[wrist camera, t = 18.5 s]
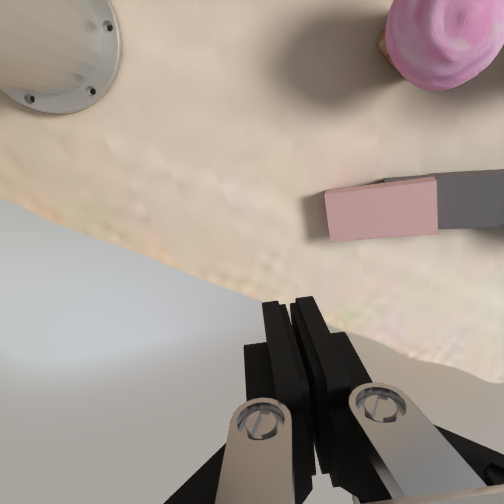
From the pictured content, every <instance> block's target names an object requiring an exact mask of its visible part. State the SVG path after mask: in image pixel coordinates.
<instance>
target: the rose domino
mask: <svg viewBox="0 0 504 504" xmlns="http://www.w3.org/2000/svg"><path fill="white" fill-rule="evenodd" d="M324 197H325V205H326V213H327V220H328V228H329V235H330V242H331V241H345V240H359V239H372V238H386V237H400V236H414V235H427V234H438V216H437V181H436V179H435V177H426V178H418V179H410V180H402V181H394V182H386V183H379V184H371V185H363V186H355V187H347V188H339V189H331V190H327V191H326V192H325V194H324Z"/></svg>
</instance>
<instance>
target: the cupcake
mask: <svg viewBox="0 0 504 504" xmlns="http://www.w3.org/2000/svg"><path fill="white" fill-rule="evenodd" d="M503 44H504V0H394V1H393V3H392V5H391V8H390V10H389V13H388V17H387V22H386V29H385V30H384V31H382V32H381V34H380V35H379V37H378V47H379V51H380V52H381V53H382V54H383V55H384V56H385V57H386V59H387V60H388V62H389V63H390V64H391V65H392V66H394V67H395V68H396V69H397V71H398V72H399V74H400V75H401V77H402V78H404V79H405V80H407V81H410V82H411V83H413V84H414V85H416V86H418V87H419V88H422V89H426V90H431V91H444V90H448V89H451V88H454V87H457V86H459V85H461V84H463V83H465V82H467V81H468V80H470V79H472V78H473V77H475V76H476V75H478V74H479V73H480V72H481V71H482V70H484V69H485V68H486V67H488V65H489V64H490V63H491V62H492V61H493V59H494V58H495V57H496V56H497V54H498V53H499V51H500V49H501V48H502V46H503Z"/></svg>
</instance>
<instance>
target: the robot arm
mask: <svg viewBox="0 0 504 504" xmlns="http://www.w3.org/2000/svg"><path fill="white" fill-rule="evenodd" d="M109 26H113V29H112V31H111V32H110V31H109V30H108V28H109ZM121 57H122V37H121V31H120V25H119V21H118V19H117V16H116V13H115V10H114V7H113V5H112V4H111V2H110V0H0V90H2V91H3V92H4V93H5V94H7V95H8V96H9V97H10V98H12V99H13V100H15V101H17V102H18V103H20V104H22V105H24V106H26V107H29V108H31V109H34V110H37V111H41V112H46V113H52V114H67V113H75V112H78V111H81V110H84V109H87V108H89V107H90V106H92V105H93V104H95V103H97V102H98V101H99V100H100V99H101V98H102V97H103V96H104V95H105V94H106V93H107V92H108V91H109V89H110V88H111V86H112V85H113V83H114V81H115V79H116V76H117V74H118V71H119V68H120V63H121ZM93 89H95V90H96V94H95V95H93V94H92V90H93ZM33 97H34V98H35V101H34V102H33V100H32V98H33ZM262 309H263V317H264V325H265V332H266V340H267V342H263V343H256V344H249V345H244V362H245V379H246V398H247V402H245V403H244V404H242V405H241V406H239V407H238V408H237V410H236V411H235V412H234V413H233V416H232V419H231V421H230V426H229V432H228V437H227V442H226V443H225V444H224V445H223V446H222V447H221V448H220V449H219V450H218V451H217V452H216V453H215V454H214V455H213V456H212V457H211V458H210V459H209V460H208V461H207V462H206V463H205V464H204V465H203V466H202V467H201V468H200V469H199V470H198V471H197V472H196V473H195V474H193V475H192V476H191V477H190V478H189V479H188V481H186V482H185V483H184V484H183V485H182V486H181V487H180V488H179V489H178V490H177V491H176V492H175V493H174V494H173V495H172V496H171V497H170V498H169V499H168V500H167V501H166V502H165V503H164V504H302V503H303V502H304V501H305V499H306V498H307V496H308V495H309V494H310V492H311V491H312V489H313V487H312V476H313V475H316V467H315V455H314V445H315V449H316V453H317V457H318V461H319V465H320V469H321V472H322V474H327V473H329V474H330V478H331V481H332V485H333V487H341V488H343V489H345V490H346V491H348V492H349V493H351V494H352V500H353V503H354V504H504V455H503V454H501V453H499V452H496V451H494V450H492V449H489V448H487V447H485V446H482V445H480V444H478V443H475V442H473V441H471V440H468V439H466V438H464V437H461V436H459V435H457V434H455V433H452V432H450V431H448V430H445V429H443V428H441V427H438V426H436V425H434V424H432V423H431V422H430V420H429V419H428V418H427V417H426V416H425V415H424V414H423V413H422V411H421V410H420V409H419V408H418V407H417V406H416V405H415V404H414V402H413V401H412V400H411V399H410V398H409V397H408V396H407V395H406V394H405V393H404V392H403V391H401V390H400V389H398V388H396V387H394V386H391V385H387V384H384V383H373V382H372V380H371V378H370V377H369V375H368V373H367V371H366V369H365V367H364V365H363V364H362V362H361V360H360V358H359V356H358V355H357V353H356V351H355V349H354V347H353V345H352V344H351V342H350V340H349V338H348V336H347V335H346V333H345V332H338V333H330V332H329V330H328V328H327V325H326V323H325V321H324V319H323V317H322V315H321V313H320V311H319V308H318V306H317V304H316V302H315V300H314V298H313V296H309V297H301V298H296V303H290V311H291V322H292V325H291V322H290V318H289V315H288V312H287V308H286V305H285V304H282V305H279V302H278V301H271V302H264V303H262Z"/></svg>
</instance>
